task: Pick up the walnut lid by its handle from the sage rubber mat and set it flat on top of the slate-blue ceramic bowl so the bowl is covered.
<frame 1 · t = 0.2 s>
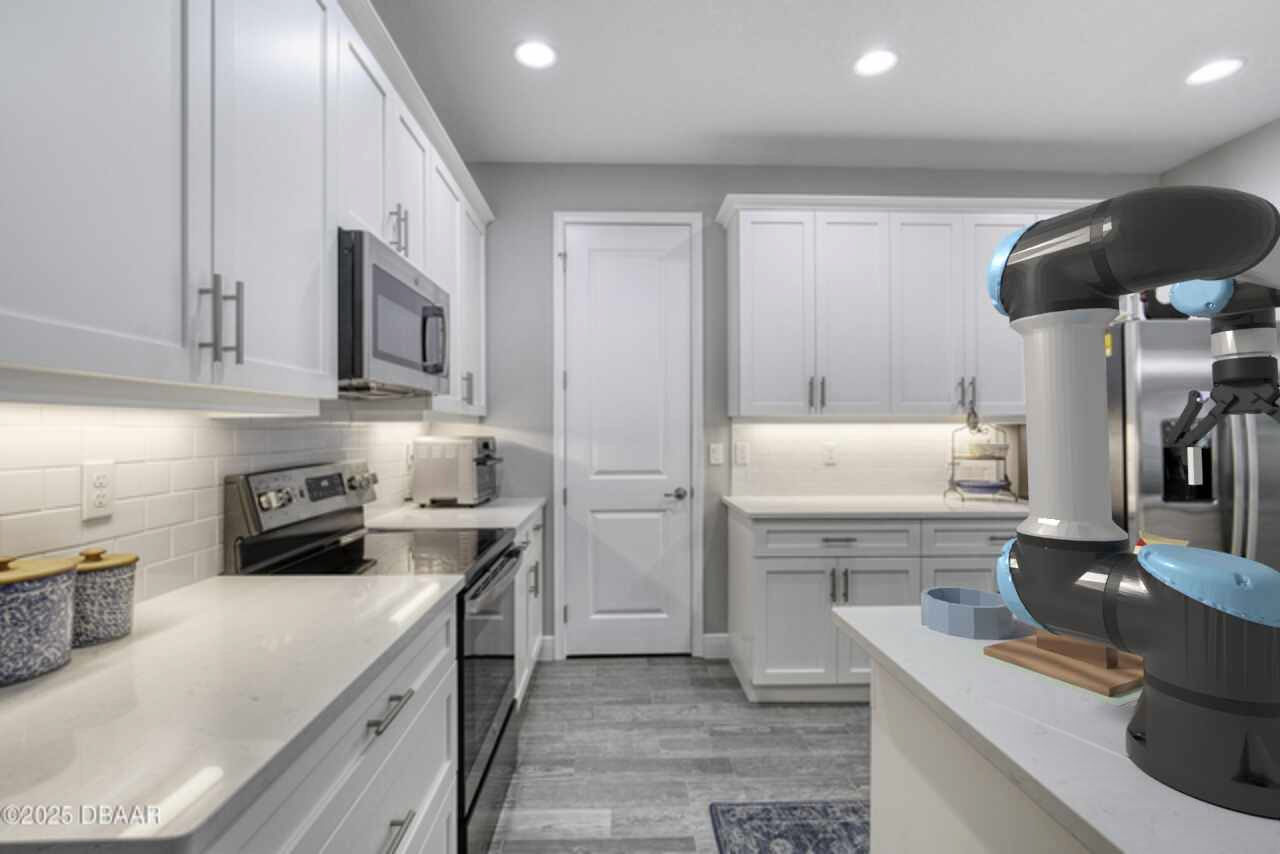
hand: (1248, 487, 95), 28 cm above the countertop, tool pointing down, fingers open, 13 cm apart
lid: (1075, 663, 91), resting on mat
mat: (1075, 666, 91), on the countertop
milk carton: (1162, 650, 98), on the countertop
bowl: (966, 628, 110), on the countertop
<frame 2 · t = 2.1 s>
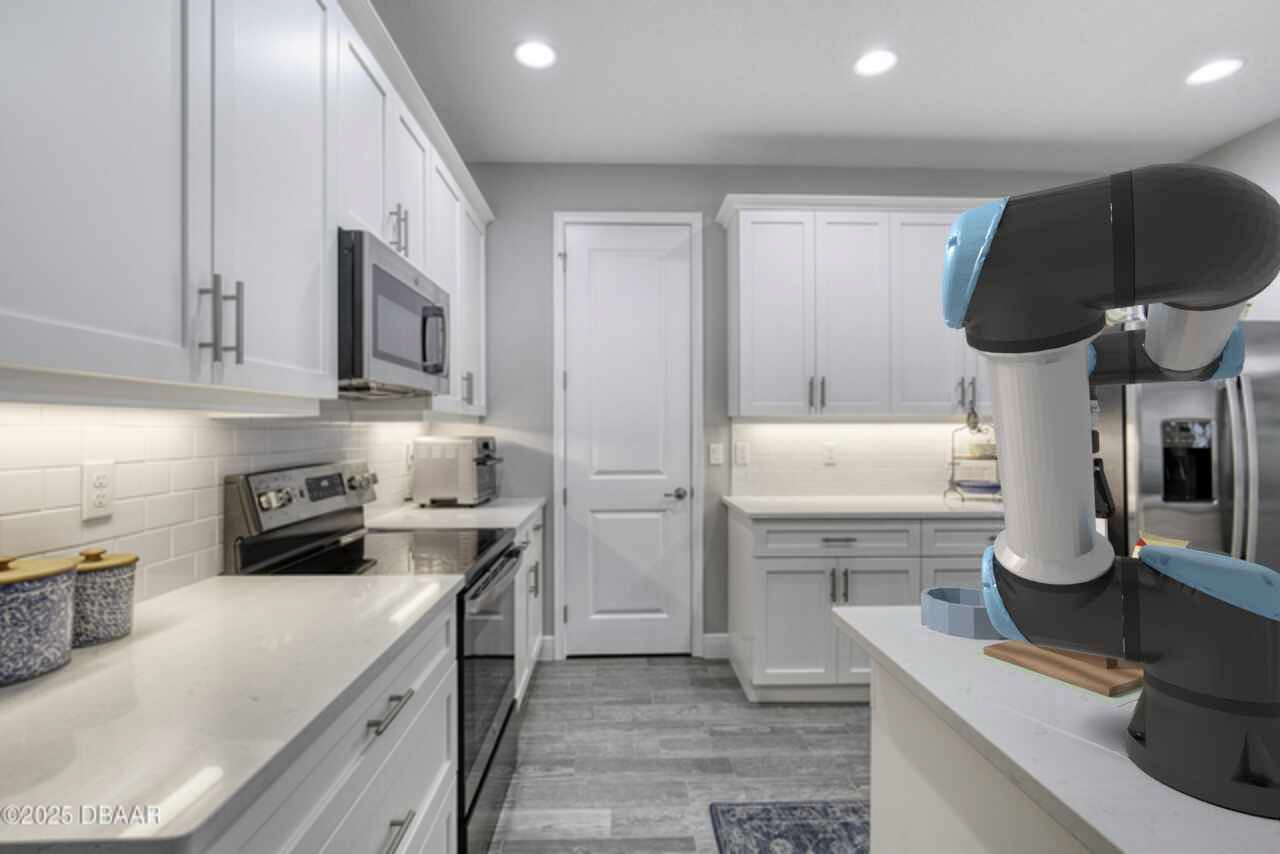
hand: (1073, 562, 92), 16 cm above the countertop, tool pointing down, fingers open, 13 cm apart
nothing on the countertop moved.
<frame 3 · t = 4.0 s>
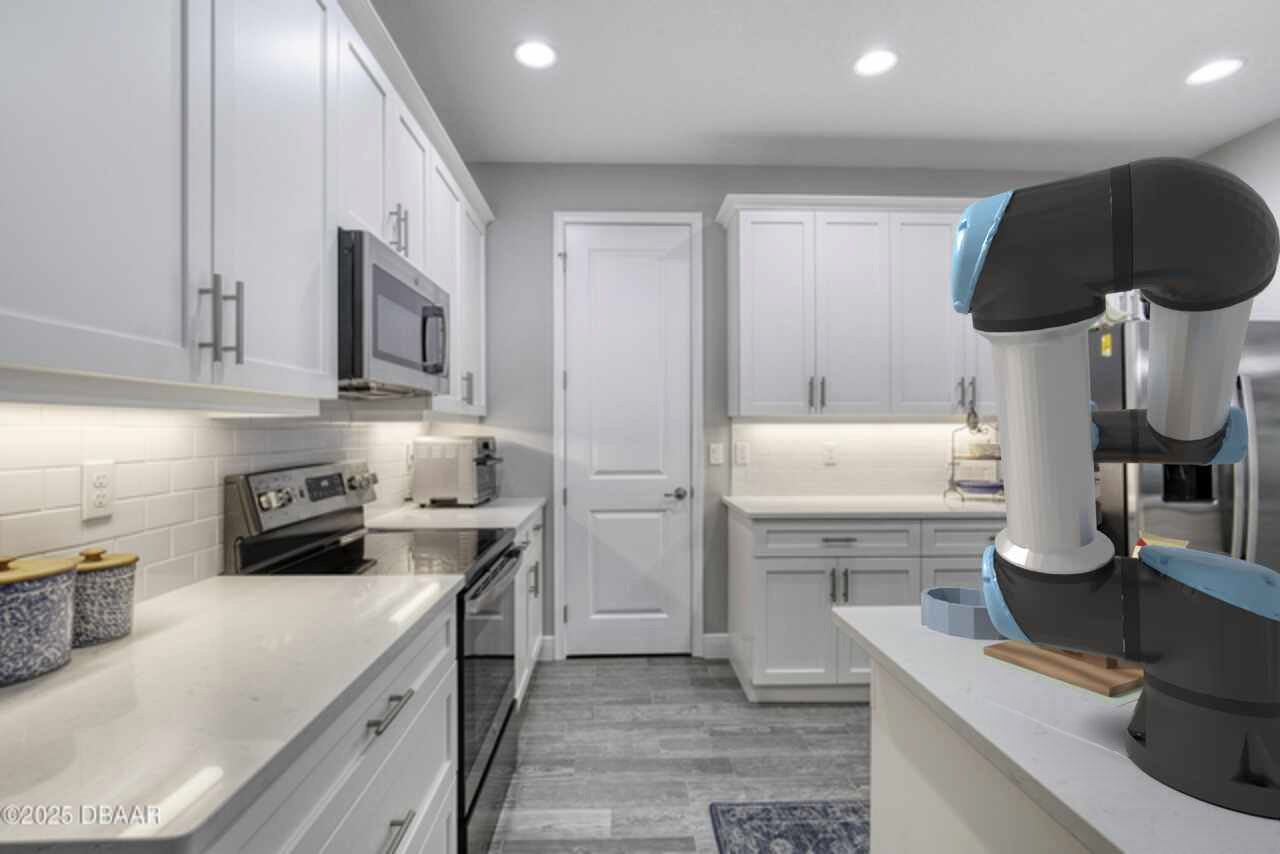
hand: (1075, 646, 92), 3 cm above the countertop, tool pointing down, fingers closed on lid, 3 cm apart
lid: (1075, 663, 91), resting on mat, touching gripper
everything else where it was.
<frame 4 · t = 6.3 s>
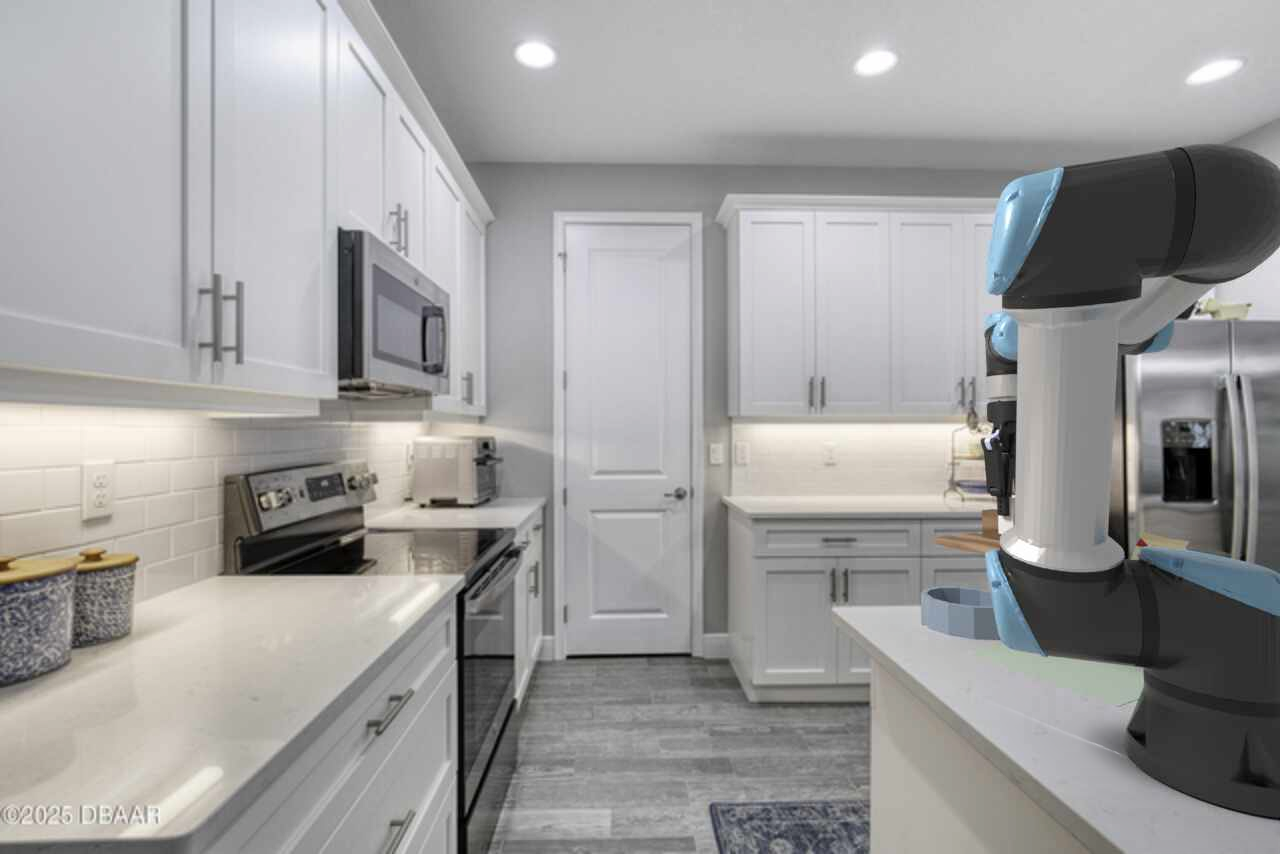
hand: (1014, 533, 102), 19 cm above the countertop, tool pointing down, fingers closed on lid, 3 cm apart
lid: (1015, 548, 102), point 17 cm above the countertop, touching gripper
everything else where it was.
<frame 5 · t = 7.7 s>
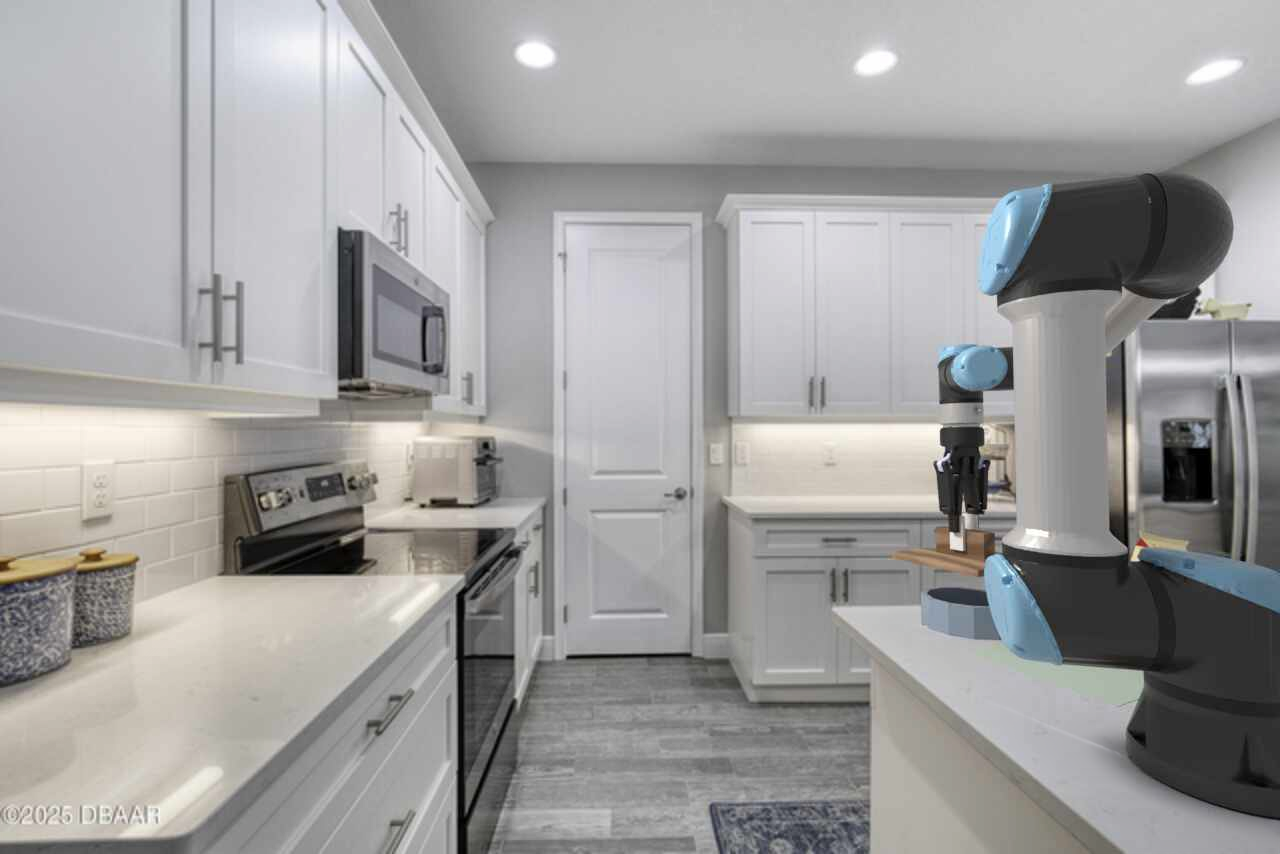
hand: (964, 548, 111), 15 cm above the countertop, tool pointing down, fingers closed on lid, 3 cm apart
lid: (964, 562, 111), point 12 cm above the countertop, touching gripper
everything else where it was.
when the fingers open (10 cm above the countertop, at t = 8.7 s): lid drops 2 cm, resting on bowl.
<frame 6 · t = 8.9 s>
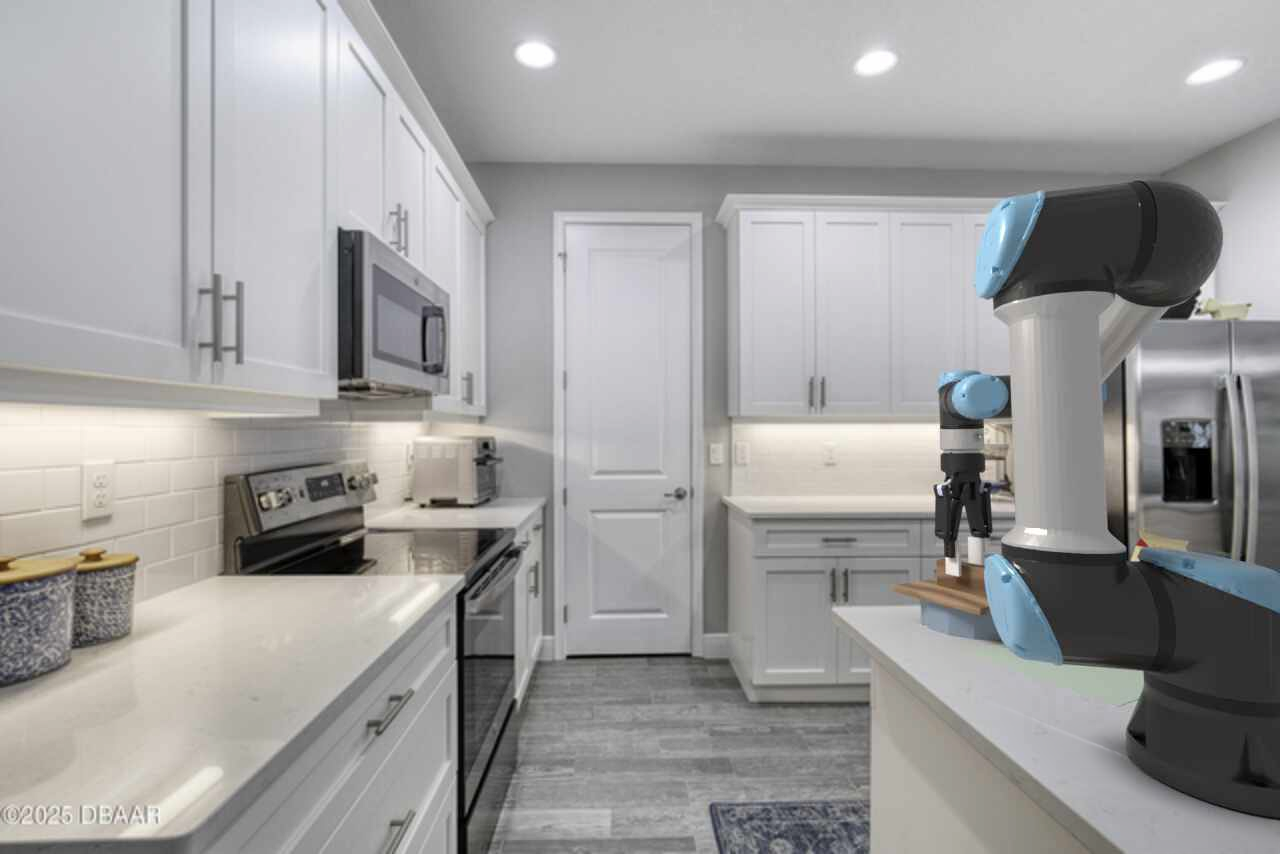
hand: (965, 572, 111), 10 cm above the countertop, tool pointing down, fingers open, 6 cm apart
lid: (965, 596, 111), point 6 cm above the countertop, touching bowl
everything else where it was.
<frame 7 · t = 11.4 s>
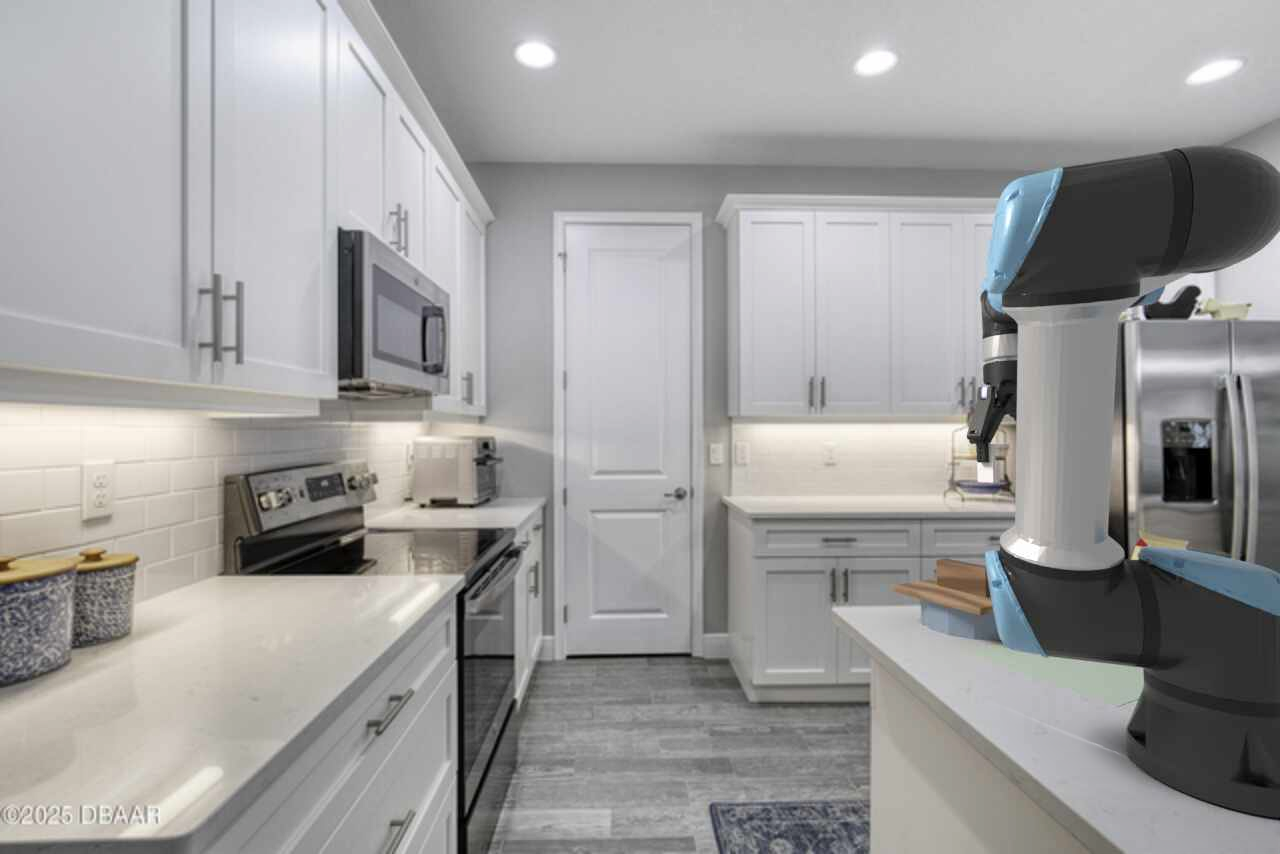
hand: (1011, 481, 102), 28 cm above the countertop, tool pointing down, fingers open, 13 cm apart
nothing on the countertop moved.
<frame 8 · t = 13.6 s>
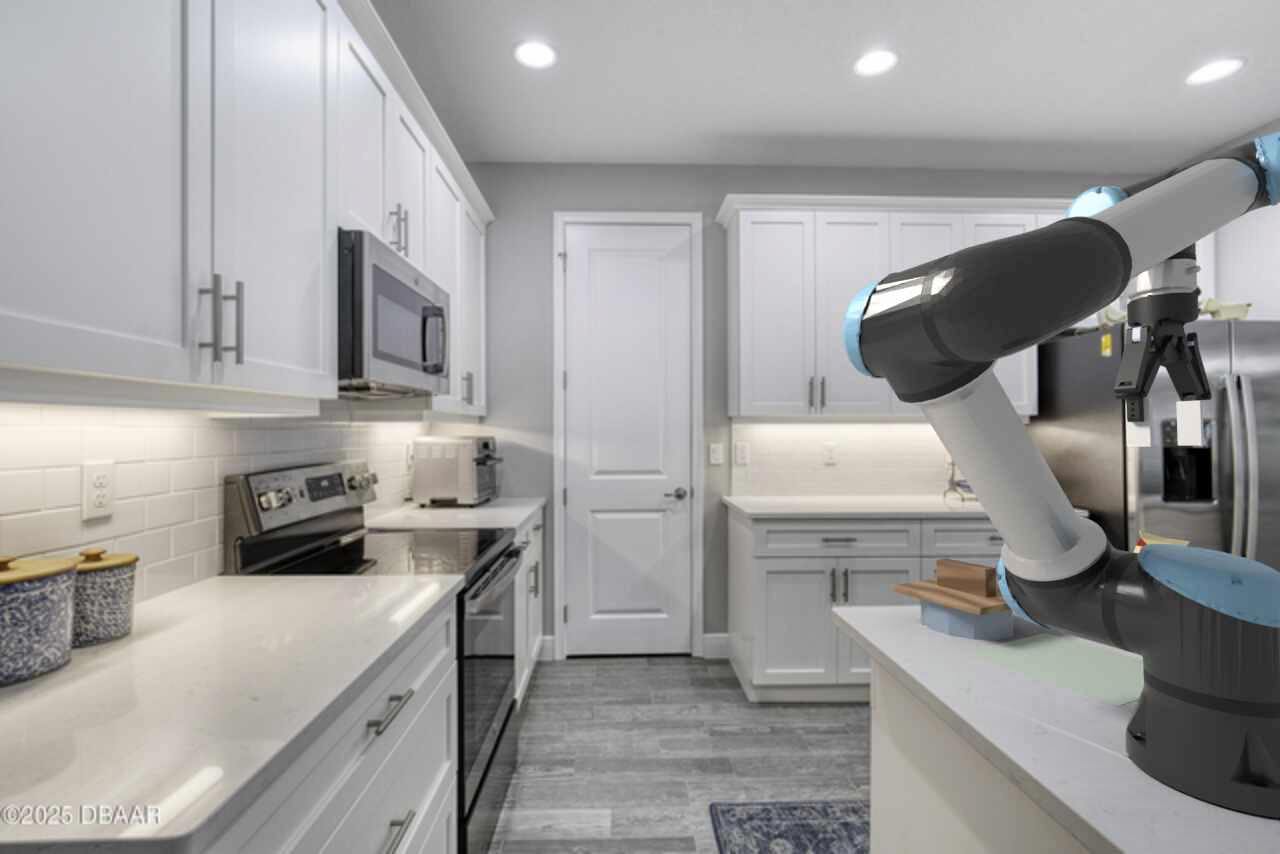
hand: (1166, 446, 82), 35 cm above the countertop, tool pointing down, fingers open, 13 cm apart
nothing on the countertop moved.
at the end: lid inside the target area on the bowl (0.0 cm from its centre), point 6.0 cm above the bowl's base; lid tilted 0°; the gripper is holding nothing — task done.
